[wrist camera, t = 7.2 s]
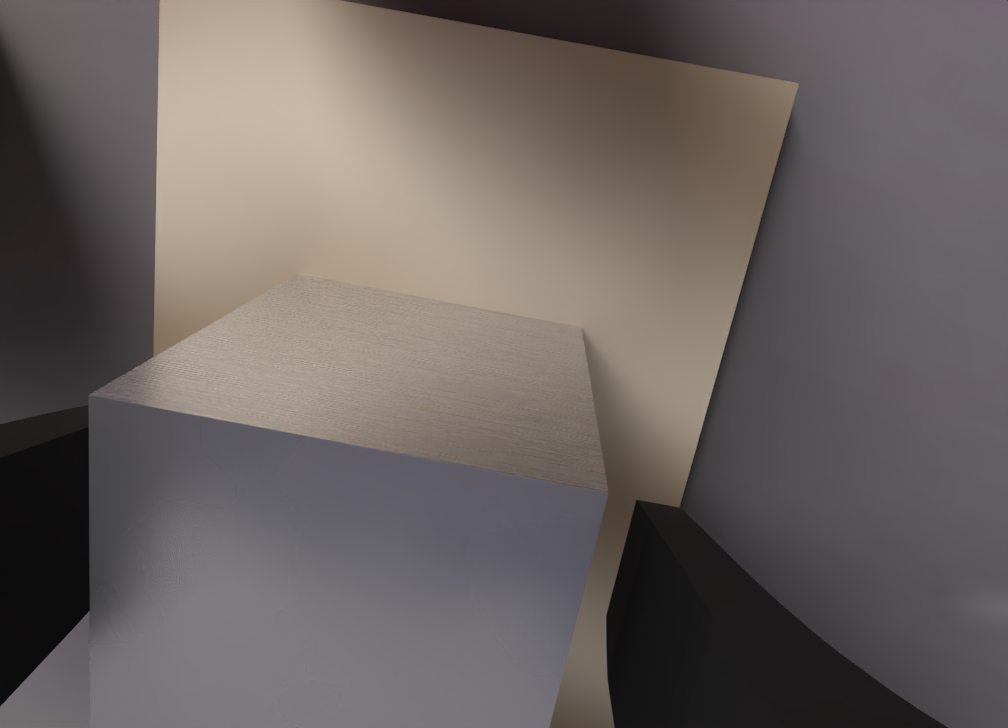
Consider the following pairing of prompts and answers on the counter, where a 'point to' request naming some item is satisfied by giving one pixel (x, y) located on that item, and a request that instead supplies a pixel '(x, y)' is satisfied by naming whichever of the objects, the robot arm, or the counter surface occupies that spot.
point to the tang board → (475, 209)
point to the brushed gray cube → (342, 517)
